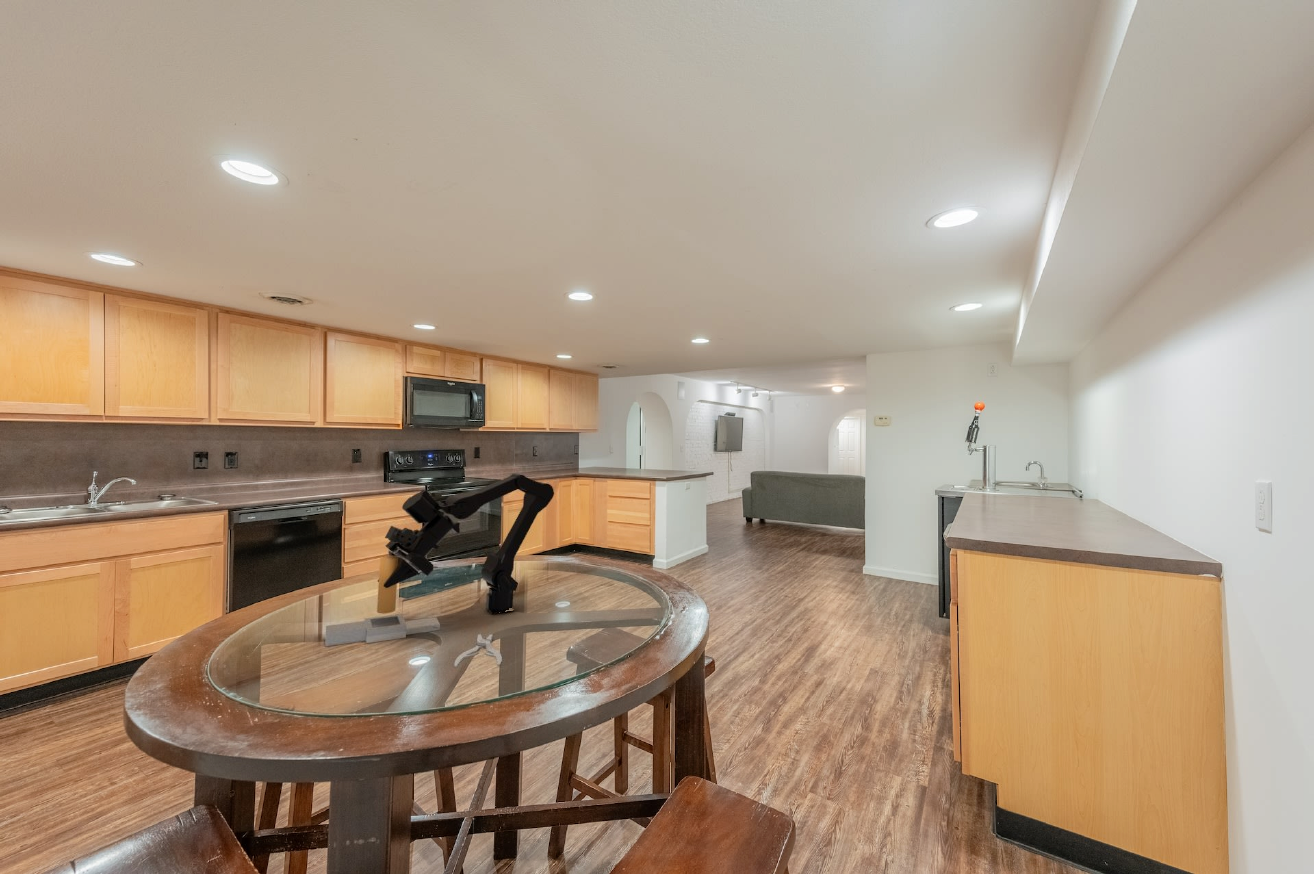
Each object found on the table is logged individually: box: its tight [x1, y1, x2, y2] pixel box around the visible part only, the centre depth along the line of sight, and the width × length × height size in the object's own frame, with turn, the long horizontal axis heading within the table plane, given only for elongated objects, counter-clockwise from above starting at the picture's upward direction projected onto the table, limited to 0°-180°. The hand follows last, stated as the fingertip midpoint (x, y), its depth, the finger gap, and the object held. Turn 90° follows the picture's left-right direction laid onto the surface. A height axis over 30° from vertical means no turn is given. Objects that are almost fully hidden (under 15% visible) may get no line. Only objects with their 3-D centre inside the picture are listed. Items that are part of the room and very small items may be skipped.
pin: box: [376, 555, 398, 614], centre depth 126 cm, size 4×4×13 cm
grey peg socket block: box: [324, 613, 441, 647], centre depth 126 cm, size 24×8×3 cm, turn 123°
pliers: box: [453, 633, 503, 668], centre depth 119 cm, size 10×2×15 cm
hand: (381, 584), depth 125 cm, fingers closed on pin, 4 cm apart
